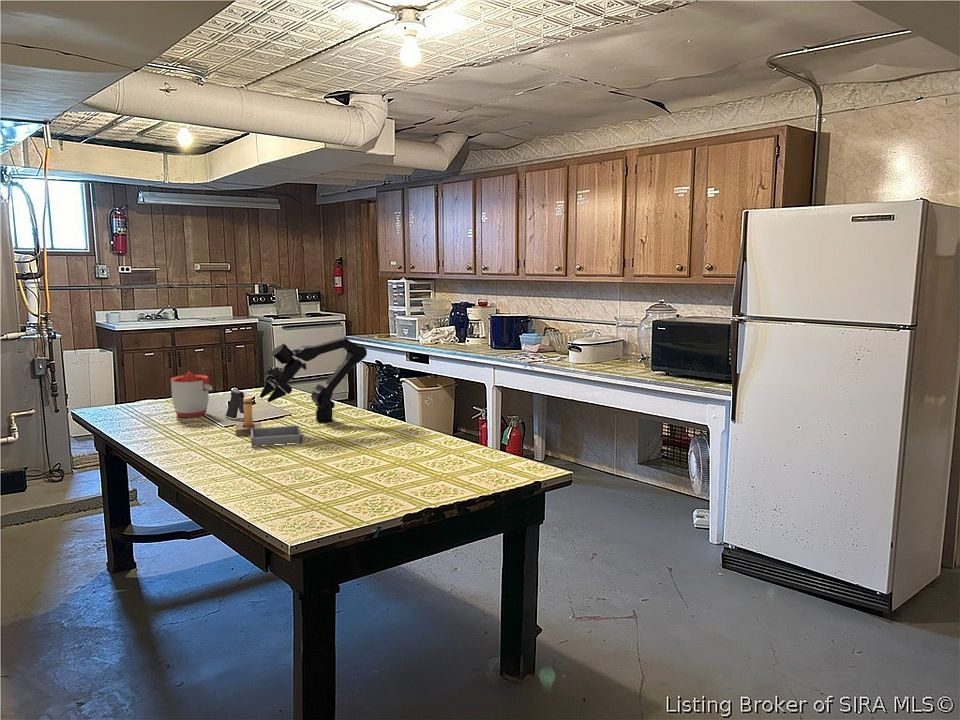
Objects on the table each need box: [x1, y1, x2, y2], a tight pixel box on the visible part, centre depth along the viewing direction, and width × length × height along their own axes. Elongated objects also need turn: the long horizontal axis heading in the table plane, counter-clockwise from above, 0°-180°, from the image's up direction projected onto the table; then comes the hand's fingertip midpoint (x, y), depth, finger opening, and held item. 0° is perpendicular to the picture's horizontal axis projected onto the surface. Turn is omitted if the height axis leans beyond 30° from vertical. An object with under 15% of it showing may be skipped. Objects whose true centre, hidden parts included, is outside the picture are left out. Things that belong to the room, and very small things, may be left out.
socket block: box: [235, 421, 263, 437], centre depth 284 cm, size 10×10×2 cm
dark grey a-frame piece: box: [225, 389, 245, 418], centre depth 306 cm, size 9×6×12 cm, turn 138°
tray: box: [250, 425, 303, 448], centre depth 272 cm, size 19×15×4 cm
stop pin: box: [243, 397, 253, 427], centre depth 283 cm, size 3×3×14 cm
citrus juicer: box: [170, 371, 214, 418], centre depth 308 cm, size 16×17×20 cm
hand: (264, 399), depth 286 cm, fingers open, 9 cm apart
